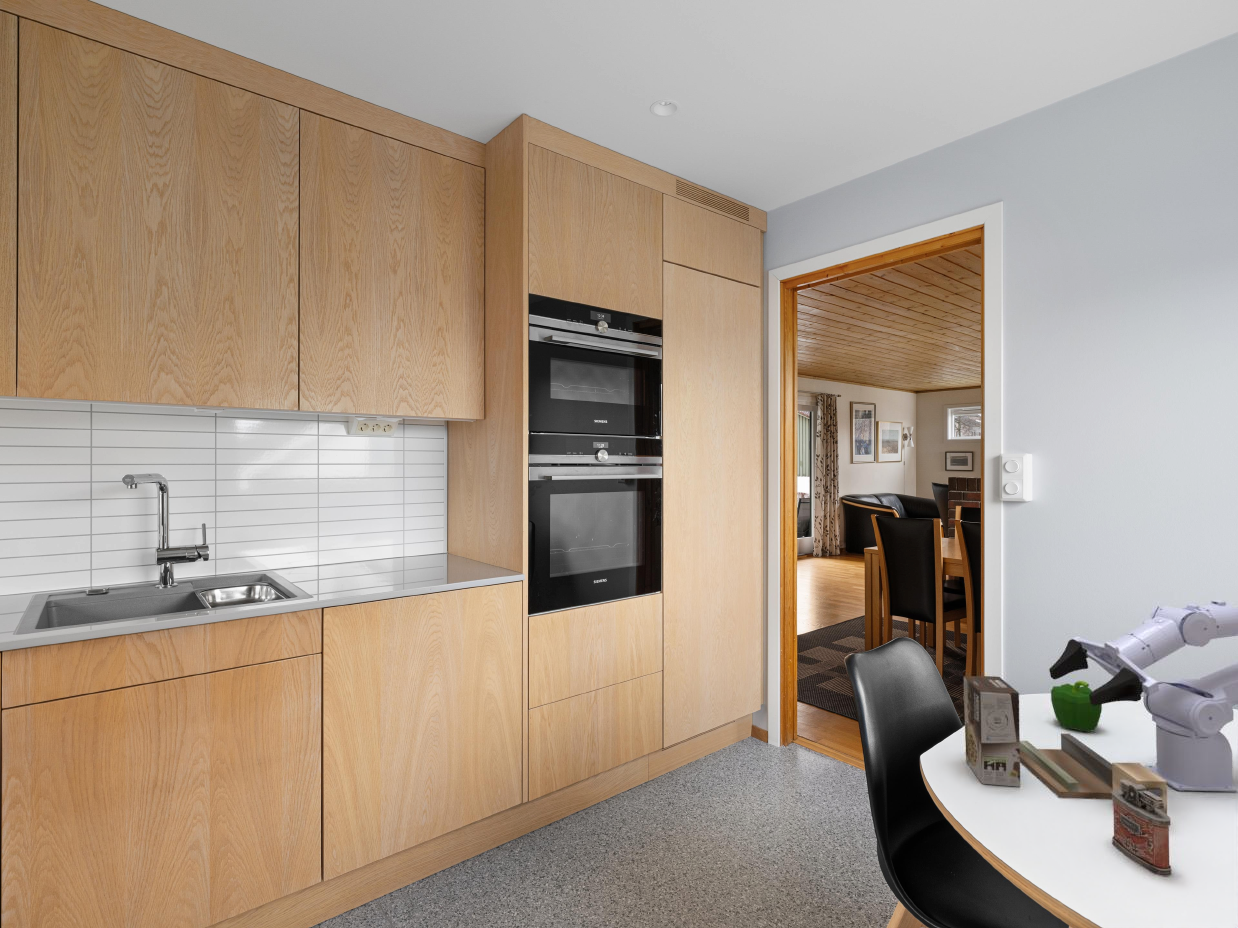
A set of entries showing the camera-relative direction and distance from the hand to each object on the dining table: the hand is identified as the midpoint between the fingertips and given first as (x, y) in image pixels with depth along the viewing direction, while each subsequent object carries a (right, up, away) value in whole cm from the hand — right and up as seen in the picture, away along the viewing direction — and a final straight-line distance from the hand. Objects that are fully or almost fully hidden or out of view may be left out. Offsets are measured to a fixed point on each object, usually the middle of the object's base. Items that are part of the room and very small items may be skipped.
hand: (1070, 686), depth 110 cm
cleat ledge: (+3, -17, +5) cm, 18 cm away
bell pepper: (+18, -17, +25) cm, 35 cm away
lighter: (-3, -18, -18) cm, 26 cm away
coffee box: (-10, -18, +6) cm, 21 cm away
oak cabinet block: (+5, -17, -8) cm, 20 cm away
